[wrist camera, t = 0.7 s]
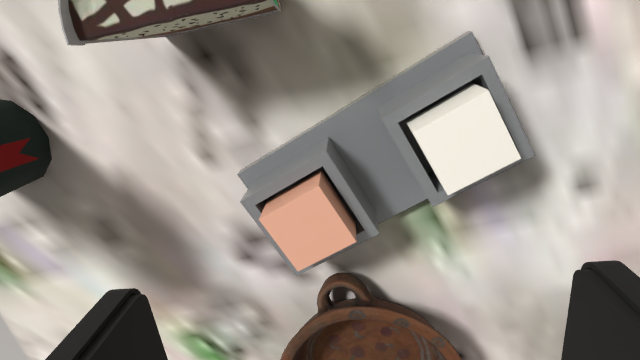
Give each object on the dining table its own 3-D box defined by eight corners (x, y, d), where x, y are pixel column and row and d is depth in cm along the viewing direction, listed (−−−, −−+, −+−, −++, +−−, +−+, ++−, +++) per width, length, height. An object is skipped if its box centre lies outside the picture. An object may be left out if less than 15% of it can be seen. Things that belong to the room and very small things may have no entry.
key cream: (473, 83, 26) (488, 90, 23) (503, 145, 27) (521, 158, 24) (405, 122, 27) (412, 132, 24) (437, 179, 28) (447, 195, 26)
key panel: (467, 31, 28) (491, 32, 24) (521, 144, 31) (551, 164, 27) (240, 170, 34) (223, 193, 29) (303, 256, 36) (297, 290, 32)
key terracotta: (321, 170, 29) (318, 185, 26) (355, 222, 30) (356, 241, 27) (266, 201, 30) (258, 219, 27) (302, 249, 31) (297, 271, 29)
